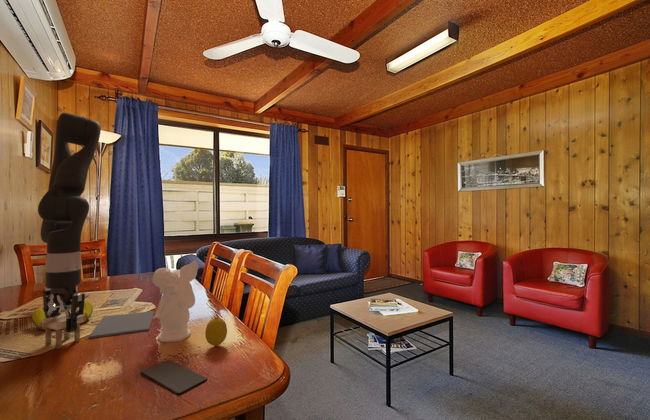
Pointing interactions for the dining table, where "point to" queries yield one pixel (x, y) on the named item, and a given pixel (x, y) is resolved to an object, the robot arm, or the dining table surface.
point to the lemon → (216, 331)
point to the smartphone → (173, 377)
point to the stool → (60, 329)
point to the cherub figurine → (175, 301)
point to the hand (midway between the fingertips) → (63, 329)
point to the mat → (123, 324)
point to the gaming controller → (42, 315)
